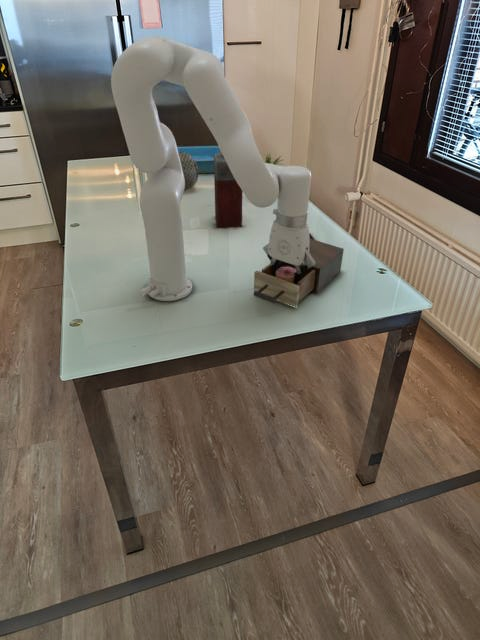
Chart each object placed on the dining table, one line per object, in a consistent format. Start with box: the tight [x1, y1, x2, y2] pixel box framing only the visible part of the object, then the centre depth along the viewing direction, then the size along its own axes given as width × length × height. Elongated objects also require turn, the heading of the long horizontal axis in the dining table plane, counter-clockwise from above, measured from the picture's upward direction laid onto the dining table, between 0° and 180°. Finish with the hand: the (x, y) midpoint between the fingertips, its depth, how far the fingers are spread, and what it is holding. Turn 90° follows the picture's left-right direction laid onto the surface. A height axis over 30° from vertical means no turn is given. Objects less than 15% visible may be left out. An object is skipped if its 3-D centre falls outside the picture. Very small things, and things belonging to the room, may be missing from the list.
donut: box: [275, 267, 296, 283], centre depth 126 cm, size 6×6×3 cm
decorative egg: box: [178, 152, 199, 191], centre depth 189 cm, size 12×12×15 cm
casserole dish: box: [177, 145, 221, 174], centre depth 214 cm, size 37×22×7 cm, turn 97°
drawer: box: [253, 260, 317, 309], centre depth 125 cm, size 19×13×6 cm
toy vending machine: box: [213, 153, 243, 229], centre depth 159 cm, size 9×11×28 cm
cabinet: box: [304, 239, 345, 295], centre depth 134 cm, size 14×14×8 cm
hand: (286, 279), depth 126 cm, fingers closed on donut, 6 cm apart
